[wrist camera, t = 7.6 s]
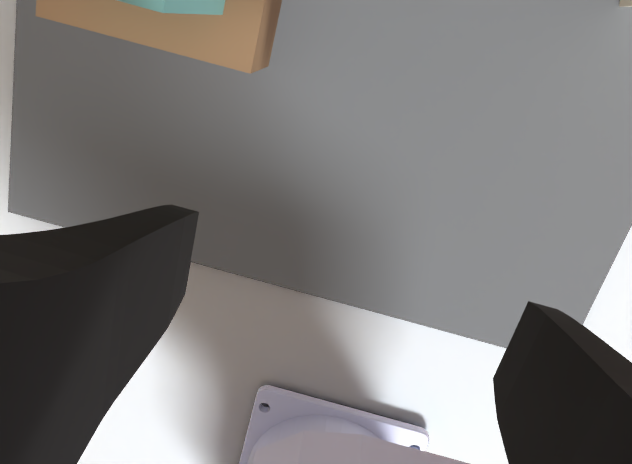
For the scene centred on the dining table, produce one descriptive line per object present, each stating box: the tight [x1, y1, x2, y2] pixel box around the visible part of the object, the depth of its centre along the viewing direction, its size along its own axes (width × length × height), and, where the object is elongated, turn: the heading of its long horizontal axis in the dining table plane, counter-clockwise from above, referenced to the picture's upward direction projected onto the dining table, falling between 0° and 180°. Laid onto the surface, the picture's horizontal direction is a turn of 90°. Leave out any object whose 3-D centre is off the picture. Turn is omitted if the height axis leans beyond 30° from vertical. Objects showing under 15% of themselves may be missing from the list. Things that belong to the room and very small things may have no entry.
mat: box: [8, 0, 632, 348], centre depth 20 cm, size 20×24×1 cm
